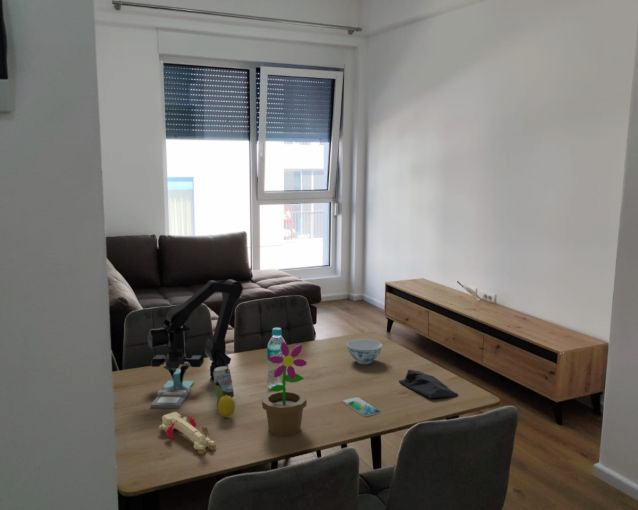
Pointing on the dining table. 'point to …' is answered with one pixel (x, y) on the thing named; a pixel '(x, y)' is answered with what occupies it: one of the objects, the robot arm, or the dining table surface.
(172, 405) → the plate
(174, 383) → the stub
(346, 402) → the smartphone
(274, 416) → the flowerpot
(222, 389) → the beverage can
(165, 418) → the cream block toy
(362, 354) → the chinaware
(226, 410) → the lemon
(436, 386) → the dark grey cloth
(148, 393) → the dining table surface
